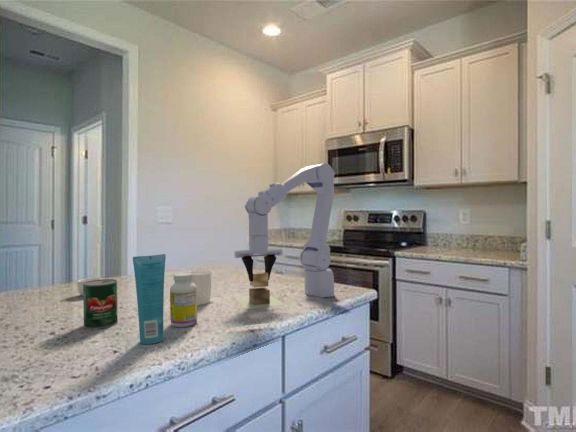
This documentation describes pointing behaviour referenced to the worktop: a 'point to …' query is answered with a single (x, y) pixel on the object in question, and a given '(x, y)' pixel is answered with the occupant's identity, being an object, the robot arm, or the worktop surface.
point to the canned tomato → (100, 303)
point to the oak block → (259, 279)
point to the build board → (248, 305)
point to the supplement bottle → (183, 301)
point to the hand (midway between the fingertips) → (259, 280)
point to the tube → (150, 296)
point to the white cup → (202, 285)
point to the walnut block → (259, 295)
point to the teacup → (80, 282)
